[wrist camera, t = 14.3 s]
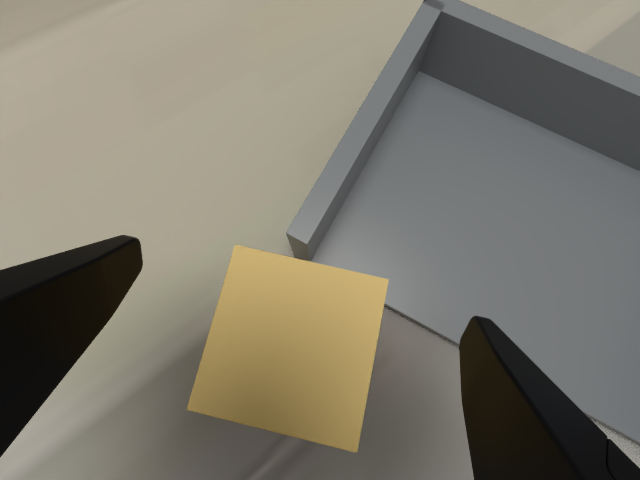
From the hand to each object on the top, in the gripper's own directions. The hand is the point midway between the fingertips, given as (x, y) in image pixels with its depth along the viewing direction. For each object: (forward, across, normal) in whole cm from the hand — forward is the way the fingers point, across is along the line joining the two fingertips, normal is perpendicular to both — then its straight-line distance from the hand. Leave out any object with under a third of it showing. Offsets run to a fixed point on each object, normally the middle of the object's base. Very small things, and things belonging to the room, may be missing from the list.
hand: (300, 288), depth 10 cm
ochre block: (+9, 0, +11) cm, 14 cm away
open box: (+15, -12, +4) cm, 20 cm away
